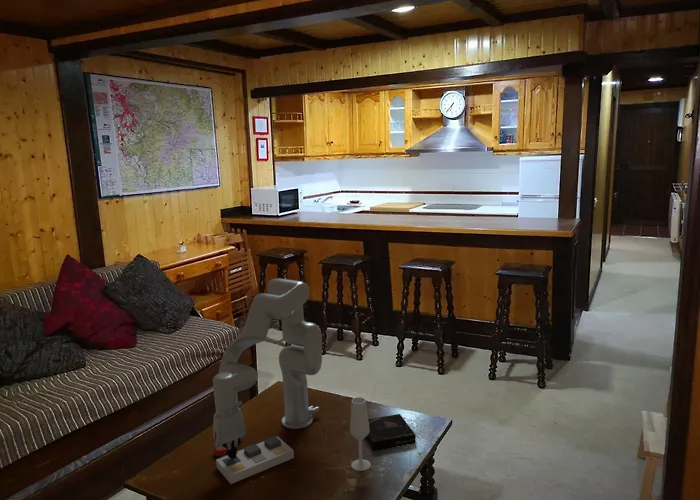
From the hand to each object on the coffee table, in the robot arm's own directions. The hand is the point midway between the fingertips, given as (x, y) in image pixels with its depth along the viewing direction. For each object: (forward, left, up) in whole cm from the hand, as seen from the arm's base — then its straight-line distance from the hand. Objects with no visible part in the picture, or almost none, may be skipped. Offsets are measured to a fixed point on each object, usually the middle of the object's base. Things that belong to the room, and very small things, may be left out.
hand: (232, 457), depth 185 cm
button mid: (-7, 0, -2) cm, 8 cm away
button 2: (-15, 0, -2) cm, 16 cm away
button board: (-7, +2, -4) cm, 9 cm away
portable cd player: (-54, +18, -5) cm, 57 cm away
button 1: (+1, 0, -4) cm, 4 cm away
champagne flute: (-35, +27, -4) cm, 45 cm away
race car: (-4, -13, -5) cm, 14 cm away
